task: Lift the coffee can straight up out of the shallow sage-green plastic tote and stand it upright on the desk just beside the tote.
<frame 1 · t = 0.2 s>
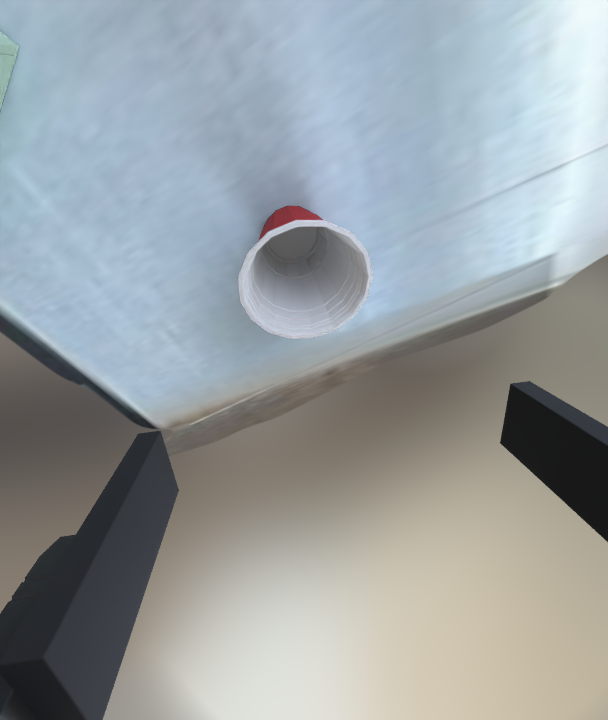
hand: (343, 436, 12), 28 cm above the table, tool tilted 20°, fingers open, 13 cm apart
plastic cup: (291, 235, 35), on the table
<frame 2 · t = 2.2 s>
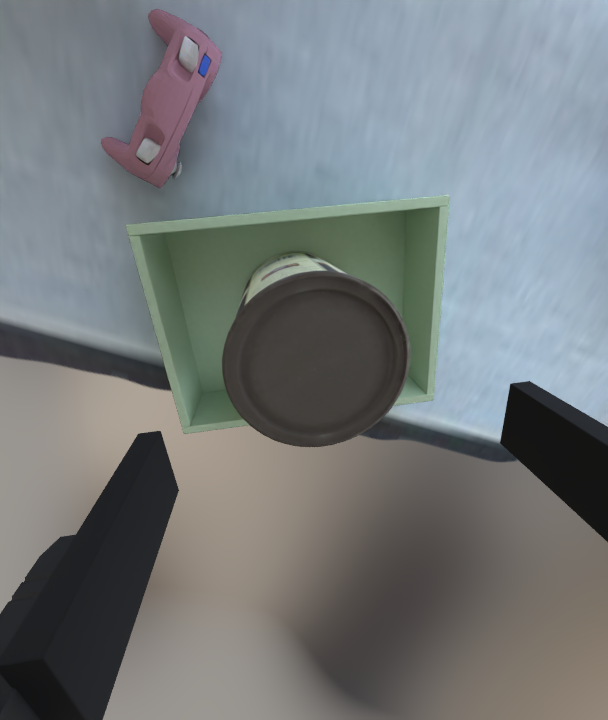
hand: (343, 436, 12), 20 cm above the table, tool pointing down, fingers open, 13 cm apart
bin: (296, 307, 31), on the table
video game controller: (170, 116, 24), on the table
coffee can: (296, 307, 31), resting on bin
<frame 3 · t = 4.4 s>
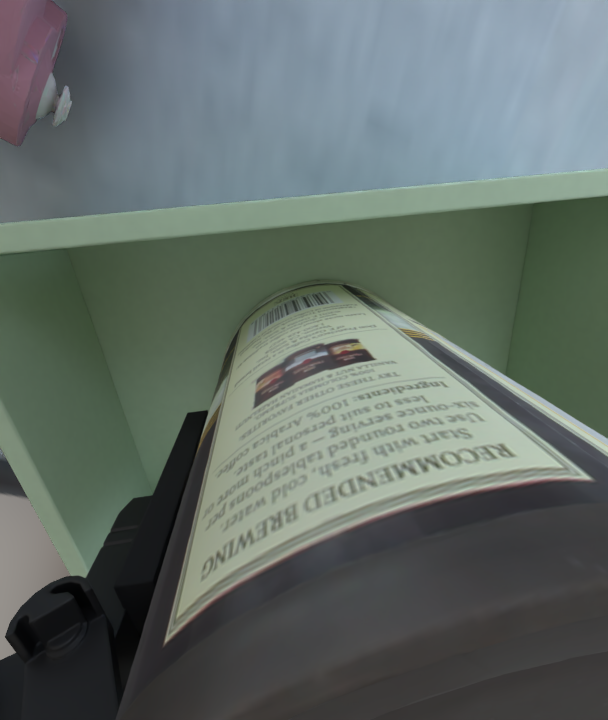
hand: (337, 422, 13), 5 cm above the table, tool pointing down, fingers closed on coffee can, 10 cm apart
bin: (321, 375, 17), on the table
coffee can: (322, 376, 17), resting on bin, touching gripper
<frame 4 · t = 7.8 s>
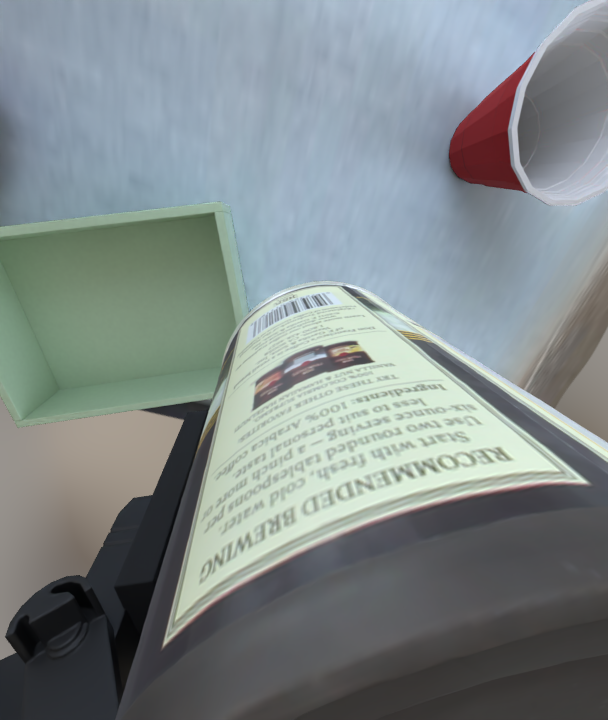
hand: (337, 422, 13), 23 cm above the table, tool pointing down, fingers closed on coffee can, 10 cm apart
bin: (137, 307, 33), on the table
coffee can: (321, 377, 17), point 19 cm above the table, touching gripper
plastic cup: (477, 150, 31), on the table
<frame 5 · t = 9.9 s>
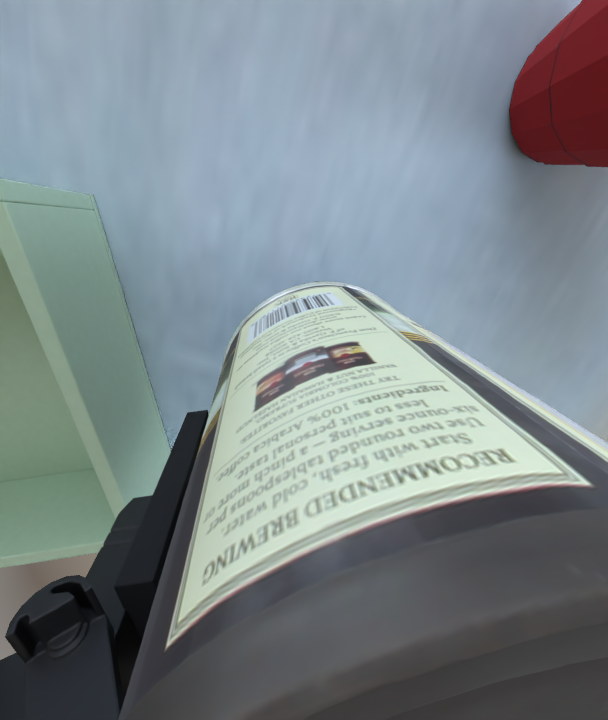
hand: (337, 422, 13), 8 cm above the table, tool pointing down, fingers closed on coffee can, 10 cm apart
coffee can: (322, 378, 17), point 3 cm above the table, touching gripper
plastic cup: (561, 104, 17), on the table
when the fingers open (4 cm above the table, at t = 11.5 s): coffee can stays where it is, on the table.
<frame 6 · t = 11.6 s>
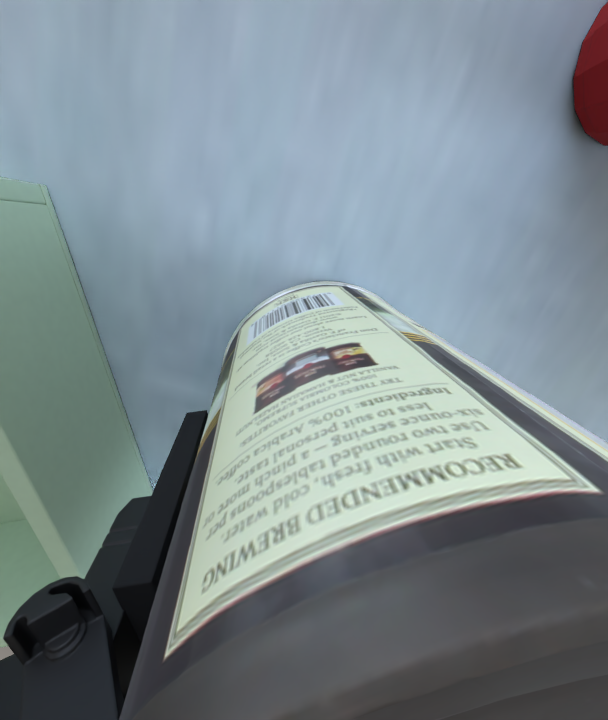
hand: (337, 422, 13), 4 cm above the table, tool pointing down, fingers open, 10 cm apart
coffee can: (322, 378, 17), on the table
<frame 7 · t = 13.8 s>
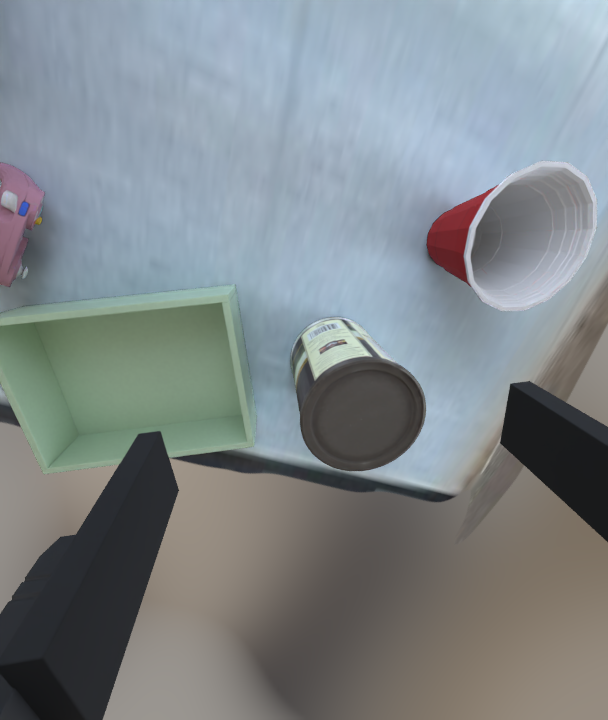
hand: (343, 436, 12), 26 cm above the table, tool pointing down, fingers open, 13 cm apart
bin: (151, 366, 37), on the table
video game controller: (26, 227, 31), on the table
coffee can: (332, 357, 39), on the table
plastic cup: (452, 240, 36), on the table
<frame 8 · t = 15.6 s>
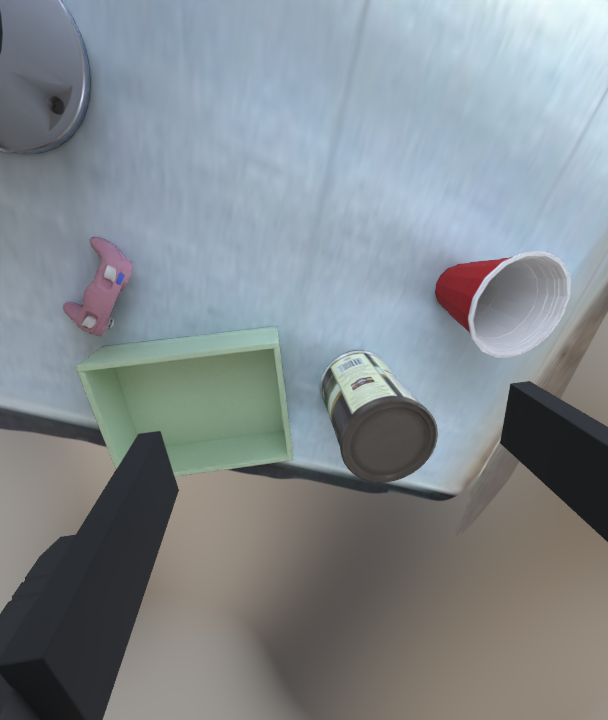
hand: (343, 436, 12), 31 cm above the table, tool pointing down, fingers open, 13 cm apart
bin: (204, 392, 45), on the table
video game controller: (109, 284, 38), on the table
coffee can: (355, 383, 47), on the table
plastic cup: (456, 287, 43), on the table
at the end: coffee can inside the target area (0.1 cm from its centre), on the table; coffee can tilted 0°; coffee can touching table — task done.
